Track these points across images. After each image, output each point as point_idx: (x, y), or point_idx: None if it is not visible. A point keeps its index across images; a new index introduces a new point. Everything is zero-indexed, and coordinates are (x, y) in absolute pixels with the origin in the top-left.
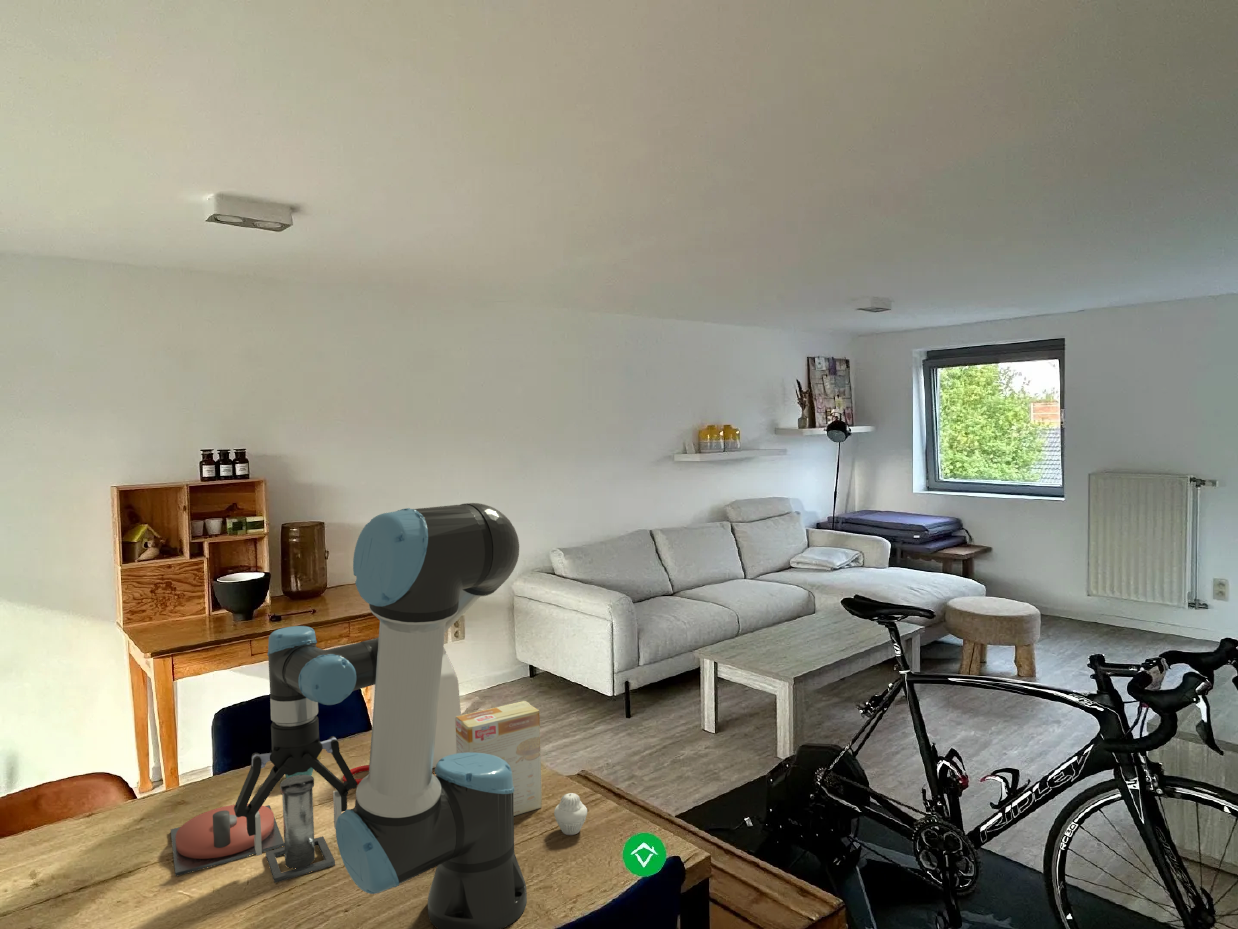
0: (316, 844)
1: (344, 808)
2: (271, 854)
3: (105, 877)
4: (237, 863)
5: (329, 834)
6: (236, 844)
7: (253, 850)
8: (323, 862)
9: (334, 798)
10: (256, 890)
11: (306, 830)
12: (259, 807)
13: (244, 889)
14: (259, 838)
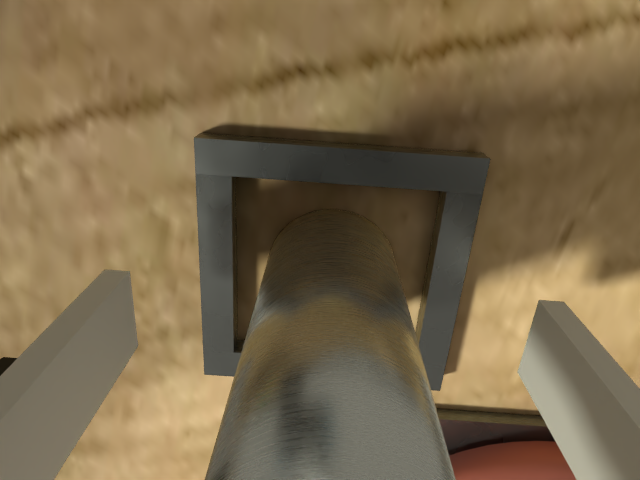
0: (241, 344)
1: (1, 372)
2: (428, 360)
3: None
4: None
5: (177, 390)
6: (548, 472)
7: (469, 429)
8: (248, 157)
9: (25, 475)
10: (567, 146)
11: (302, 301)
12: None
13: (602, 188)
14: (599, 361)
